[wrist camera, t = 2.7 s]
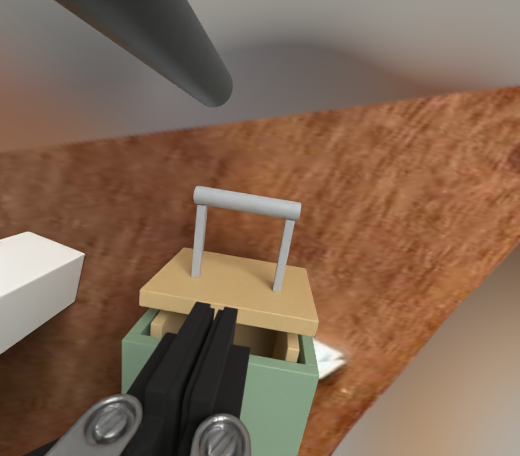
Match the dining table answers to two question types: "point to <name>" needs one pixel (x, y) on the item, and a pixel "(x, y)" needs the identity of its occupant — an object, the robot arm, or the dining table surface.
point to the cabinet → (249, 389)
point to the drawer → (237, 283)
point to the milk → (34, 283)
